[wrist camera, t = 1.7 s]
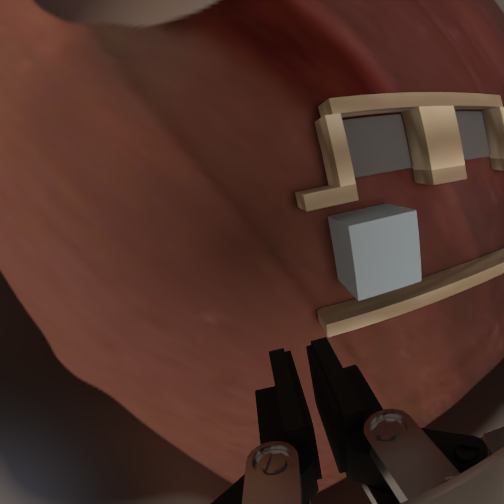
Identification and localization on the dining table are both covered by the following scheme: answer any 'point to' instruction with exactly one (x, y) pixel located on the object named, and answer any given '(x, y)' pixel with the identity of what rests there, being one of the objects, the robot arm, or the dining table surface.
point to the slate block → (376, 249)
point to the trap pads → (403, 141)
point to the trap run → (425, 172)
